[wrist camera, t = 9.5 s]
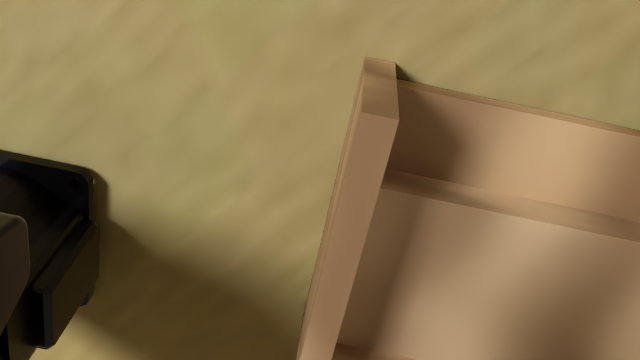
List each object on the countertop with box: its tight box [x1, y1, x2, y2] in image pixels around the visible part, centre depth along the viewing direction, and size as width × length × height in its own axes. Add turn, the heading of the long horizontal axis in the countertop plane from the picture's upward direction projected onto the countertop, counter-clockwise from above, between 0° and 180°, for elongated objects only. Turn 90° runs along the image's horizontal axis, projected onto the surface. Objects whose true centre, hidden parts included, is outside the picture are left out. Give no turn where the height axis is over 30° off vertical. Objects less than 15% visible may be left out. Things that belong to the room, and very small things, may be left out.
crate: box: [296, 57, 640, 360], centre depth 21 cm, size 18×12×4 cm, turn 79°
